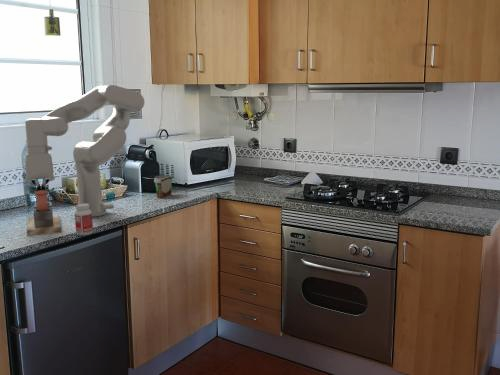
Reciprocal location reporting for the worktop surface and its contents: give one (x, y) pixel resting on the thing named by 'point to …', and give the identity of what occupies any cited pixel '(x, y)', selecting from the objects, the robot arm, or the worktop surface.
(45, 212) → the board
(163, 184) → the food container
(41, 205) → the red plug
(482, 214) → the worktop surface
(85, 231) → the pill bottle
